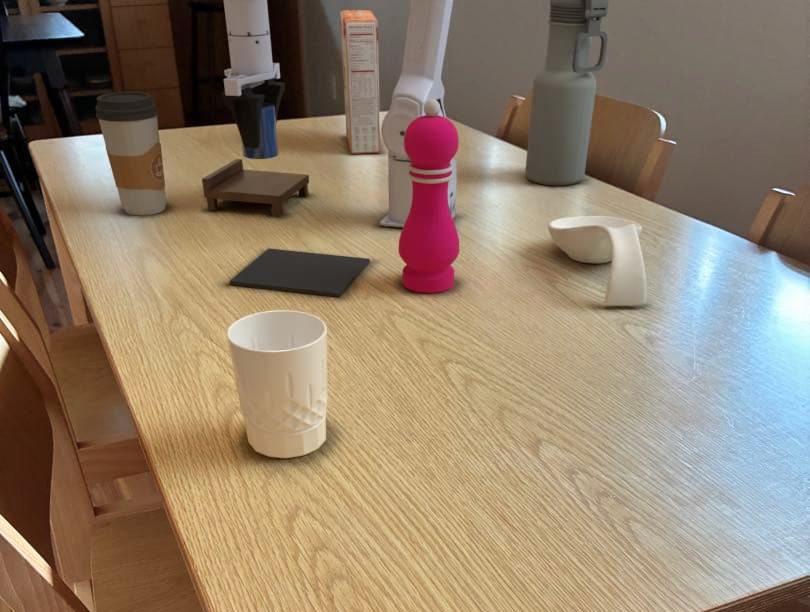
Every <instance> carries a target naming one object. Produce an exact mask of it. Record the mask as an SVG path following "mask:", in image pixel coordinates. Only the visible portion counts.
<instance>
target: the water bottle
mask: <svg viewBox="0 0 810 612" xmlns="http://www.w3.org/2000/svg"><path fill="white" fill-rule="evenodd" d="M549 5H550V8H549V15H548V16H549V20H548V21H547V23H548V25H549V27H548V36H547V37H548V39H547V46H546V57H545V58H546V59H545V67H544V69H542V70H541V71H540V72H539V73H538V74H537V75H536V76H535V77H534V80H533V84H532V94H531V104H530V105H531V106H530V116H529V127H528V136H527V137H528V138H527V147H526V148H527V149H526V160H525V171H524V172H525V177H526V178H527V179H528V180H530V181H531V182H533V183H535V184H538V185H543V186H552V187H565V186H572V185H575V184H578V183H580V182H582V180H583V179H584V177H585V175H586V165H587V161H588V160H587V159H588V150H589V145H590V137H591V129H592V123H593V122H592V121H593V114H594V107H595V99H596V92H597V80H596V77H595V75H594V74H593V73H592V72H598V71H600V70H601V69H602V68H603V67H604V65H605V60H606V53H607V46H608V37H609V36H608V34H607V32H606V31H602V30H601V24H602V18H606V16H607V14H608V10H609V0H549ZM593 37H599V38H600V41H601V42H600V50H599V57H598V61H597V63H596V64H595V65H594V66H589V63H590V57H591V49H592V40H593Z"/></svg>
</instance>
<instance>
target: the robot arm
mask: <svg viewBox="0 0 810 612" xmlns="http://www.w3.org/2000/svg"><path fill="white" fill-rule="evenodd" d="M453 5H454V0H410V5H409V14H408V21H407V27H406V36H405V44H404V52H403V58H402V66H401V73H400V76H399V78H398V80H397V83H396V85H395V87H394V90H393V92H392V96H391V104H390V107H389V109H388V111H387V112H386V114H385V115H384V117H383V119H382V123H381V126H380V135H381V139H382V142H383V144H384V146H385V148H386V150H387V161H388V162H387V163H388V165H387V170H388V172H387V173H388V174H387V175H388V178H387V180H388V213H387V214H386V215H385V216H384V217H382V219H381V220H380V221H379V225H380V226H382V227H392V228H401V229H403V227H404V224H405V222H406V220H407V218H408V215H409V212H410V209H411V204H412V194H413V188H412V180H411V179H410V178H409V177H408V174H409V168H408V166H409V164H410V163H412V162H411V160H410V158H409V157H408V155H407V154H406V152H405V149H404V136H405V132H406V130H407V128H408V126H409V124H410V123H411V122H412V121H413V120H415V119H416V118H418V117H421V116H424V115H426V114H425V112H424V105H425V103H426V102H427V101H428V100H430V99H435V100H436V101H438V103H439V104H440V112H439V114H438V116H442V117H445V118H447V115H446V111H445V107H444V97H445V92H446V91H445V87H444V84H443V82H442V81H443V80H442V72H443V65H444V59H445V54H446V48H447V43H448V42H447V41H448V36H449V30H450V23H451V17H452V10H453ZM223 7H224V15H225V26H226V33H227V40H228V41H227V42H228V49H229V50H228V51H229V59H230V67H231V68H227V69H224V71H223V72H224V76H225V77H226V78H223V85H224V91H223V92H222V93H221V94H222V95H221V96H222V100H223V102H224V103H225V105H226V107H227V108H228V110H229V111H230V113H231V115H232V117H233V119H234V122H235V124H236V128H237V130H238V132H239V136H240V139H242V140H241V143H242V142H243V144H244V147H246V148H259V145H260V116H261V109H262V104H263V102H267V103H272V104H274V107H275V118H276V124H277V122H278V114H279V110H280V109H279V108H280V104H281V100H282V97H283V94H284V92H285V90H286V86H285V85H286V84H285V82H282V81H275V80H279V79H281V71H280V62H273V52H272V41H271V30H270V21H269V20H270V18H269V9H268V0H223ZM450 163H451V164H452V165H453V170H452V174H453V178H452V179H451V180H449V184H448V204H449V210H450V213H451V216H452V219H453V220H454V218H455V217H456V216H457V212H456V199H457V198H456V197H457V176H458V175H457V173H458V172H457V170H458V169H457V160H456V159H455V158H454V157H453V158H452V160H451V161H450Z"/></svg>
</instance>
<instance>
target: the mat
mask: <svg viewBox="0 0 810 612" xmlns="http://www.w3.org/2000/svg"><path fill="white" fill-rule="evenodd" d="M370 262H371V261H370V258H367V257H356V256H347V255H346V256H345V255H335V254H326V253H318V252H307V251H297V250H289V249H280V248H279V249H278V248H267V249H266V250H265V251H263V252H262V253H261V254H260V255H259V256H258V257H256V258H255V259H254V260H253V261H251V262H250V263H249V264H248V265H247V266H246V267H244V268H243V269H242V270H241V271H239V273H237V274H236V275H235V276H234V277H232V278H231V279H230V280H229V285H230V286H238V287H247V288H253V289H263V290H271V291H272V290H273V291H280V292H281V291H282V292H289V293H290V292H291V293H299V294H307V295H317V296H324V297H334V298H341V296H342V294H344V292H346V291H347V289H348V288H349V287H350V285H351V284H352V283H353V282H354V281H355V280H356V279H357V278H358V277H359V276H360V274H361V273H362V272H363V271H364V269H365V268H366V267H367V266H368V265H369V264H370Z"/></svg>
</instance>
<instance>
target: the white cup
mask: <svg viewBox="0 0 810 612" xmlns="http://www.w3.org/2000/svg"><path fill="white" fill-rule="evenodd" d="M226 339H227V345H228V350H229V355H230V360H231V367H232V373H233V376H234V381H235V387H236V392H237V396H238V399H239V400H238V401H239V406H240V410H241V413H242V416H243V418H244V426H245V431H246V436H247V442H248V444H249V445H250V446H251V448H252V449H253V450H254V451H255V452H256V453H259V454H261V455H264V456H266V457H269V458H279V459H292V458H298V457H303V456H307V455H308V454H310V453H312V452H314V451H317V450H318V449H320V448H321V446H322V445H323V444H324V443H325V442H326V440H327V428H326V427H327V410H328V393H329V392H328V390H329V389H328V327H327V324H326V322H324V321H323V319H321V318H320V317H318V316H316V315H314V314H312V313H309V312H308V313H307V312H304V311H299V310H289V309H275V310H265V311H259V312H255V313H250V314H248V315H245V316H242V317H241V318H239V319H237V320H235V321H234V322H233V323H231V324H230V325H229V326H228V327H227V330H226Z"/></svg>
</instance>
